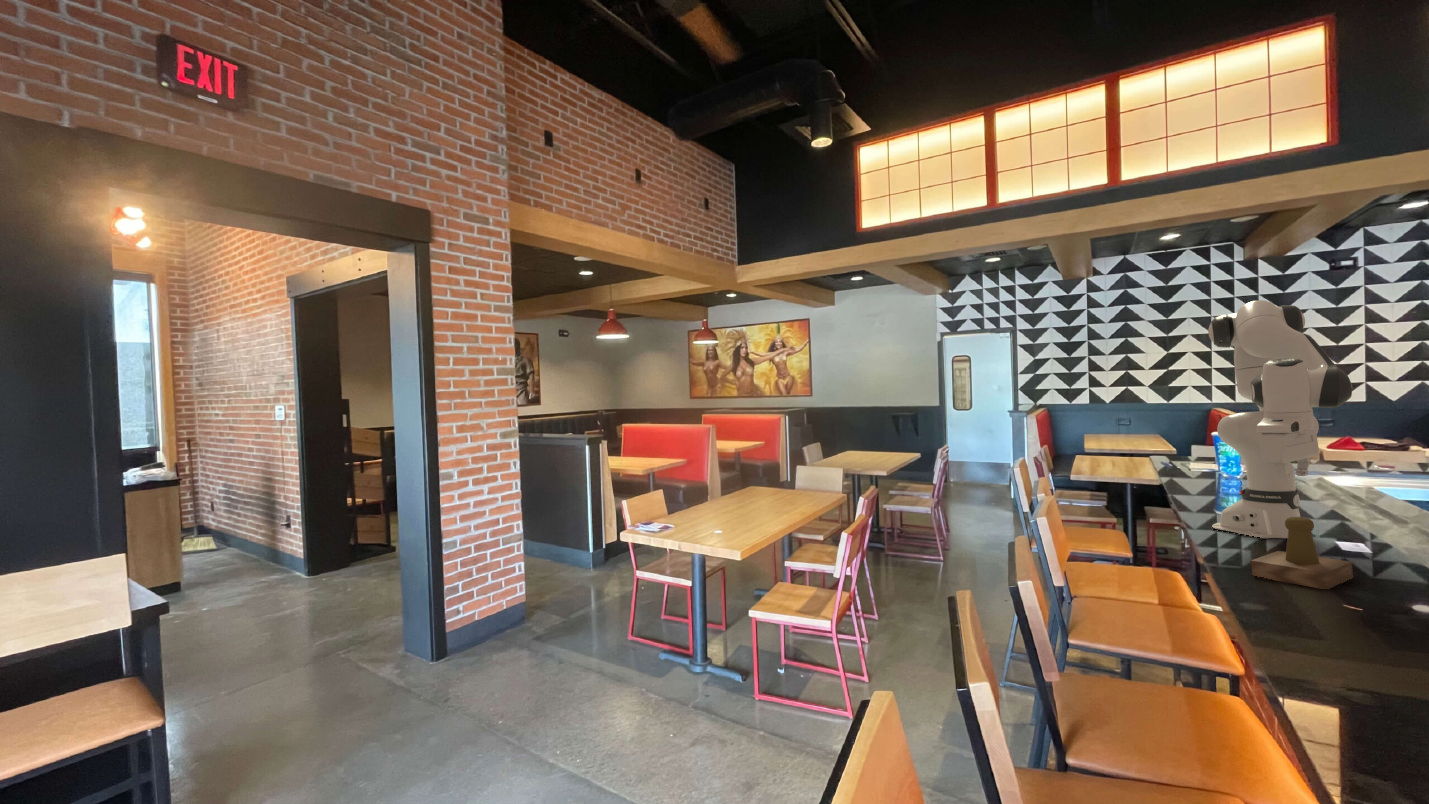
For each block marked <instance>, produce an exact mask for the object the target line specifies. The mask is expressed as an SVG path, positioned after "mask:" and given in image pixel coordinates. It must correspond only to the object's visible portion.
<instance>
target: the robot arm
mask: <svg viewBox="0 0 1429 804" xmlns="http://www.w3.org/2000/svg"><path fill="white" fill-rule="evenodd" d="M1305 325H1306V318H1305V315H1304V314H1303V312H1302V311H1301V309H1300V308H1299V307H1297V306H1296V305H1289V304H1288V305H1287V304H1282V305H1280V306H1276V305H1275V303H1273V302H1271V301H1267V300H1261V299H1260V300H1252V301H1250V302H1247V303H1245V304H1243V305H1242V306H1240V308H1239V309H1237V312H1233V313H1230V314H1226V313H1225V314H1222V315H1218V316H1215V317H1214V318H1213V319H1211V321H1210V324H1209V327H1208V337H1209V339H1210V341H1211V342H1212V343H1213V345H1214V346H1216V347H1218V348H1231V347H1234V351H1233V362H1234V363H1233V366H1234V373H1235V374H1234V375H1235V380H1236V381H1235V382H1236V387H1237V392H1238V394H1240V396H1241V397H1243V398H1244V399H1247V400H1250V401H1251V402H1252V403H1254V404H1255V405H1256V406H1257V407H1258V410H1259V411H1248V412H1247V411H1245V412H1238V413H1234V414H1229V415H1226V416H1223V417H1222V418H1221V419H1220V421H1219V422H1218V424H1217V428H1216V431H1217V435H1218V437H1219V438H1220V440H1221V441H1222V442H1223V443H1224V444H1226V445H1228V446H1229V447H1231V448H1232V449H1234V450H1235V451H1236V452H1237V453H1238V455H1239V456H1240V457H1241V459H1242V461H1243V464H1244V466H1245V471H1246V479H1247V487H1246V488H1244V489H1241V490H1239V491H1238V492H1239V493H1238V495H1239V496H1240V495H1241V499H1240V500H1238V501H1236V502H1235V503H1233V504H1231V505H1229V506H1227V507H1225V508H1224V509H1223V510H1222V511H1221V515H1220V520H1219V522H1216V523H1213V524H1212V525H1211V528H1212V527H1213V528H1215V529H1220V530H1226V531H1231V532H1237V533H1239V534H1238V535H1240V534H1244V535H1243V536H1246V535H1249V536H1248V537H1252V536H1254V537H1253V538H1257V537H1260V538H1259V539H1288V529H1287V528H1286V526H1285V520H1286V519H1287V518H1289V517H1301V513H1300V510H1299V508H1300V503H1301V502H1300V495H1299V490H1298V489H1297V486H1296V485H1297V484H1296V476H1297V477H1306V476H1308V475H1309V466H1310V463H1311V459H1310V458H1314V457H1317V456H1318V455H1319V452H1320V450H1319V440H1318V436H1317V435H1318V433H1319V429H1320V428H1319V427H1320V426H1319V422H1318V419H1317V418H1316V417H1315V415H1314V410H1313V408H1327V409H1328V408H1330V409H1332V408H1333V409H1336V408H1338V407H1340V406H1342V405H1343V404H1345V403H1346V402H1347V401H1349V400H1350V399H1351V398H1352V395H1353V384H1352V382H1351V380H1350V378H1349V376H1348V374H1347V373H1346V372H1345V371H1344V370H1343V369H1341V368H1339V367H1338V366H1337V365H1336V364H1335V362H1334V361H1333V360H1332V359H1331V358H1330V357H1329V356H1328V354H1327V353H1326V352H1325V351H1324V349H1323V348H1322V347H1321V345H1320V344H1319V343H1318V342H1317V341H1316V340H1315V339H1314V338H1313V337H1312V336H1311V335H1310V334H1307V333H1303V332H1304V328H1305ZM1293 462H1297V467H1296V468H1295V467H1294V465H1293V464H1292V463H1293Z"/></svg>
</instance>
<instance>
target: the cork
mask: <svg viewBox="0 0 1429 804" xmlns="http://www.w3.org/2000/svg"><path fill="white" fill-rule="evenodd" d="M1285 526H1286V528H1287V529H1288V538H1286V539H1287V541H1286V549H1285V550H1286V551H1285V552H1286V559H1285V560H1286V561H1288V562H1292V563H1297V564H1308V565H1314V564H1319V559H1318V557H1319V556H1318V552H1317V548H1316V544H1315V540H1314V538H1313V537H1314V536H1313V533H1312V531H1313V530H1314V528H1315V523H1314V521H1313V520H1312V519H1310V518H1308V517H1304V516H1300V517H1289V518H1287V519H1286V520H1285Z"/></svg>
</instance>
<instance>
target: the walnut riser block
mask: <svg viewBox="0 0 1429 804" xmlns="http://www.w3.org/2000/svg"><path fill="white" fill-rule="evenodd" d="M1285 559H1286V551H1282V550H1275V551H1274V552H1270V553H1268V554H1265V555H1262V556H1260V557H1256V558H1254V559H1251V561H1250V562H1251V564H1250V565H1251V576H1252V575H1253V576H1252V577H1255V576H1257V578H1260V577H1264V578H1263V579H1266V578H1267V579H1268V580H1271V579H1272V580H1273V581H1278V582H1283V583H1288V584H1293V585H1301V586H1304V587H1305V586H1306V587H1310V588H1315V589H1322V590H1325V589H1328V590H1329V589H1332V588H1334V587H1336V586H1335V585H1337V586H1338V584H1339V585H1341V584H1343V583H1345V582H1348V581H1350V580H1352V579H1353V578H1354V576H1353V574H1354V573H1353V562H1352V561H1348V560H1341V559H1336V558H1335V559H1334V558H1328V557H1322V556H1321V557H1320V556H1318V559H1319V564H1314V565H1308V564H1297V563H1292V562H1288V561H1286V560H1285ZM1349 579H1350V580H1349ZM1347 580H1348V581H1347ZM1340 583H1341V584H1340Z"/></svg>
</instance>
